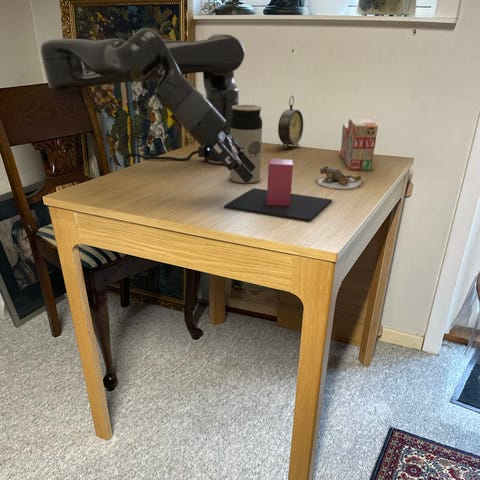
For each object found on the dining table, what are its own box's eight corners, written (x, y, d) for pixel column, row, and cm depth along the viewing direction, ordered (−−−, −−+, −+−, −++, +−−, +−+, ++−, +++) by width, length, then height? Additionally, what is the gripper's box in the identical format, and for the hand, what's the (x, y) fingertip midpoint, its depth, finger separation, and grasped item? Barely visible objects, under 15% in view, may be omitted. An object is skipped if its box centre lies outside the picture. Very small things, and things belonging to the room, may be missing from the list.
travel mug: (225, 177, 133) (225, 105, 124) (252, 175, 136) (254, 104, 127) (237, 185, 127) (238, 109, 118) (265, 182, 130) (268, 108, 121)
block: (266, 205, 111) (268, 164, 106) (267, 198, 115) (269, 158, 111) (290, 206, 110) (292, 164, 106) (290, 199, 115) (293, 159, 110)
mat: (224, 207, 110) (224, 205, 110) (253, 190, 123) (253, 187, 123) (309, 222, 103) (309, 219, 103) (331, 201, 116) (331, 199, 115)
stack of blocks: (339, 154, 161) (344, 113, 155) (358, 154, 161) (364, 113, 155) (349, 170, 143) (355, 124, 136) (371, 170, 143) (378, 125, 136)
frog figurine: (312, 186, 127) (313, 171, 125) (322, 175, 137) (323, 161, 135) (357, 191, 124) (359, 176, 122) (364, 180, 133) (366, 165, 131)
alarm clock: (288, 151, 164) (291, 97, 156) (274, 149, 166) (276, 96, 158) (302, 145, 172) (306, 94, 164) (289, 143, 175) (292, 93, 166)
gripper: (193, 125, 113) (242, 178, 118) (181, 136, 101) (236, 195, 106) (216, 100, 110) (265, 156, 115) (206, 109, 98) (262, 170, 103)
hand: (251, 174), depth 110 cm, fingers open, 8 cm apart
